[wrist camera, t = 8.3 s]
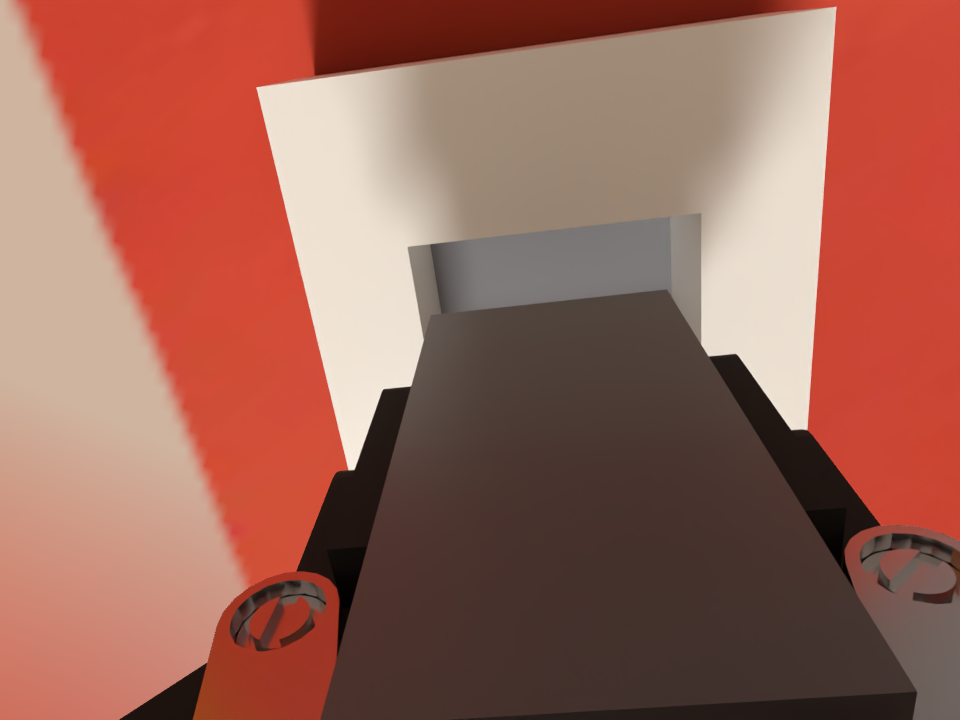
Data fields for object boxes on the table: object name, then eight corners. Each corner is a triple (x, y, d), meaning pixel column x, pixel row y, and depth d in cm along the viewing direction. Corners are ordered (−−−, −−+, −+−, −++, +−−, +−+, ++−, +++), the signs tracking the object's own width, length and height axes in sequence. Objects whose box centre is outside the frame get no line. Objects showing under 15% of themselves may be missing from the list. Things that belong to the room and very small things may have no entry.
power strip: (760, 13, 15) (844, 6, 12) (737, 797, 26) (776, 932, 22) (313, 75, 16) (250, 88, 12) (466, 808, 27) (458, 939, 23)
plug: (666, 289, 12) (917, 692, 5) (671, 488, 14) (861, 1016, 6) (430, 314, 12) (318, 728, 5) (462, 505, 14) (413, 1026, 7)
